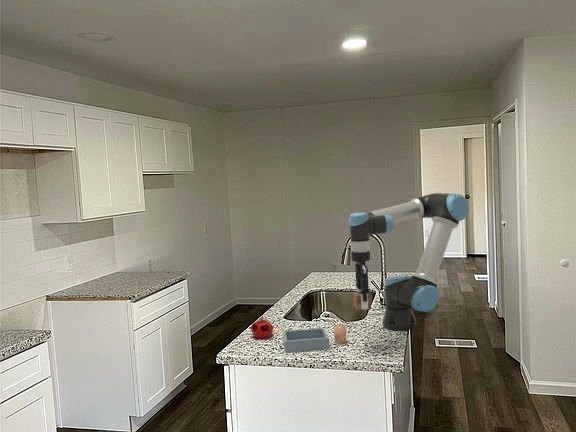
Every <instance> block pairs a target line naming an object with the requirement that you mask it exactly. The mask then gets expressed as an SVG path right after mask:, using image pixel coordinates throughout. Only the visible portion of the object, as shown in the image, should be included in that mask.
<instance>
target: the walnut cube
mask: <svg viewBox="0 0 576 432" xmlns="http://www.w3.org/2000/svg"><path fill="white" fill-rule="evenodd" d="M352 293H353V307H354V308H355V310H356V311H368V310H372V295H371V293H370V292H369V293H368V309H361V294H360V292H357V291H354V292H352Z"/></svg>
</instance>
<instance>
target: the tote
mask: <svg viewBox="0 0 576 432" xmlns="http://www.w3.org/2000/svg"><path fill="white" fill-rule="evenodd" d="M282 337H283V345H284V346H283V347H284V352H285V353H293V352H295V353H296V352H306V351H307V352H308V351H320V350H329V349H330V342H329V341H330V339H329V336H328V333H327V331H326V329H325V328H324V327H320V328H309V329H307V328H304V329H293V330H283V331H282Z"/></svg>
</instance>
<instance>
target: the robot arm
mask: <svg viewBox="0 0 576 432" xmlns="http://www.w3.org/2000/svg"><path fill="white" fill-rule="evenodd" d="M469 212H470V211H469V203H468V200H467V198H466V197H464V196H463V195H462V194H460V193H454V192H451V193H447V192H446V193H442V192H441V193H439V192H435V193H429V194H426V195H423V196H419V197H415V198H412V199H411V200H410V201H409V202H408V201H407V202H404V203H401V204H397V205H393V206H389V207H385V208H379V209H376V210H371V211H369V212H352V213H351V214H349V215H350V216H349V218H348V223H347V224H348V226H349V232H350V243H349V246H350V249H351V252H350V254H351V261H352V262H353V263H354V262H355V263H354V267H355V269H354V270H355V287H356V290H357V291H356V292H360V294H361V309H368V293H370V290H369V289H370V287H369V286H370V285H369V268H368V266H367V265H366V262H369V261H370V260H371V251H370V250H371V247H370V246H371V244H370V243H371V242H370V236H372V235H381V234H387V233H392V232H393V231H394V228H395V224H396V223H399V222H404V221H407V220H411V219H416V220H418V219H419V220H420V219H424V218H425V219H431V220H432V222H433V224H432V227H431V230H430V232H429V235H428V238H427V241H426V243H425V247H424V250H423V251H422V255H421V257H420V261H419V263H418V266H417V269H416V271H415V273H414V274H411V276H410V275H404V274H403V275H393V276H389V277H386V278H385V280H384V296H385V312H384V315H383V318H382V327H383V328H384V329H387V330H391V331H397V332H398V331H400V332H401V331H410V330H413V329H415V328H417V320H416V317H415V315H414V312H413V310H415V311H418V312H424V313H425V312H430V311H432V310H433V309H434V308H435V307H436V305H438V303H439V300H440V294H439V290H438V288H437V287H438V283H437V276H438V273H439V270H440V268H441V264H442V261H443V259H444V255H445V253H446V251H447V247H448V243H449V241H450V238H451V235H452V232H453V230H454V229H455V228H458V227H459V223H460V221H461V222H462V221H463V220H465V219H466V218H467V217H468V214H469Z"/></svg>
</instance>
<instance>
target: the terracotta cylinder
mask: <svg viewBox="0 0 576 432" xmlns="http://www.w3.org/2000/svg"><path fill="white" fill-rule="evenodd" d="M333 332H334V335H333V337H334V344H336V345H346V343H347V342H348V341H347V326H346V325H345V324H336V325H334V326H333Z"/></svg>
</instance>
